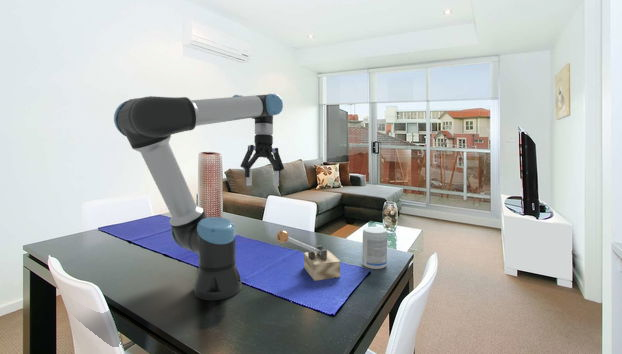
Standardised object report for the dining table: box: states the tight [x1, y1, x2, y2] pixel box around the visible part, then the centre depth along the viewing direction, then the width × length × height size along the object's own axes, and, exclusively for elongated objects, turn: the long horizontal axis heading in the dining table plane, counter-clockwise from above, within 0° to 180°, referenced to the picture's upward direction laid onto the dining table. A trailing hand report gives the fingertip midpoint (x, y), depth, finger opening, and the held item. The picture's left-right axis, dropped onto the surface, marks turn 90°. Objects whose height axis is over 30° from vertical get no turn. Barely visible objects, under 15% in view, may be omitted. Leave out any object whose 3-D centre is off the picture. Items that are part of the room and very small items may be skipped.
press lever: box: [276, 230, 323, 256], centre depth 113 cm, size 4×4×20 cm
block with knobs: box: [303, 244, 341, 282], centre depth 117 cm, size 10×12×10 cm
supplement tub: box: [362, 226, 388, 270], centre depth 123 cm, size 10×10×15 cm
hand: (263, 186), depth 128 cm, fingers open, 13 cm apart
